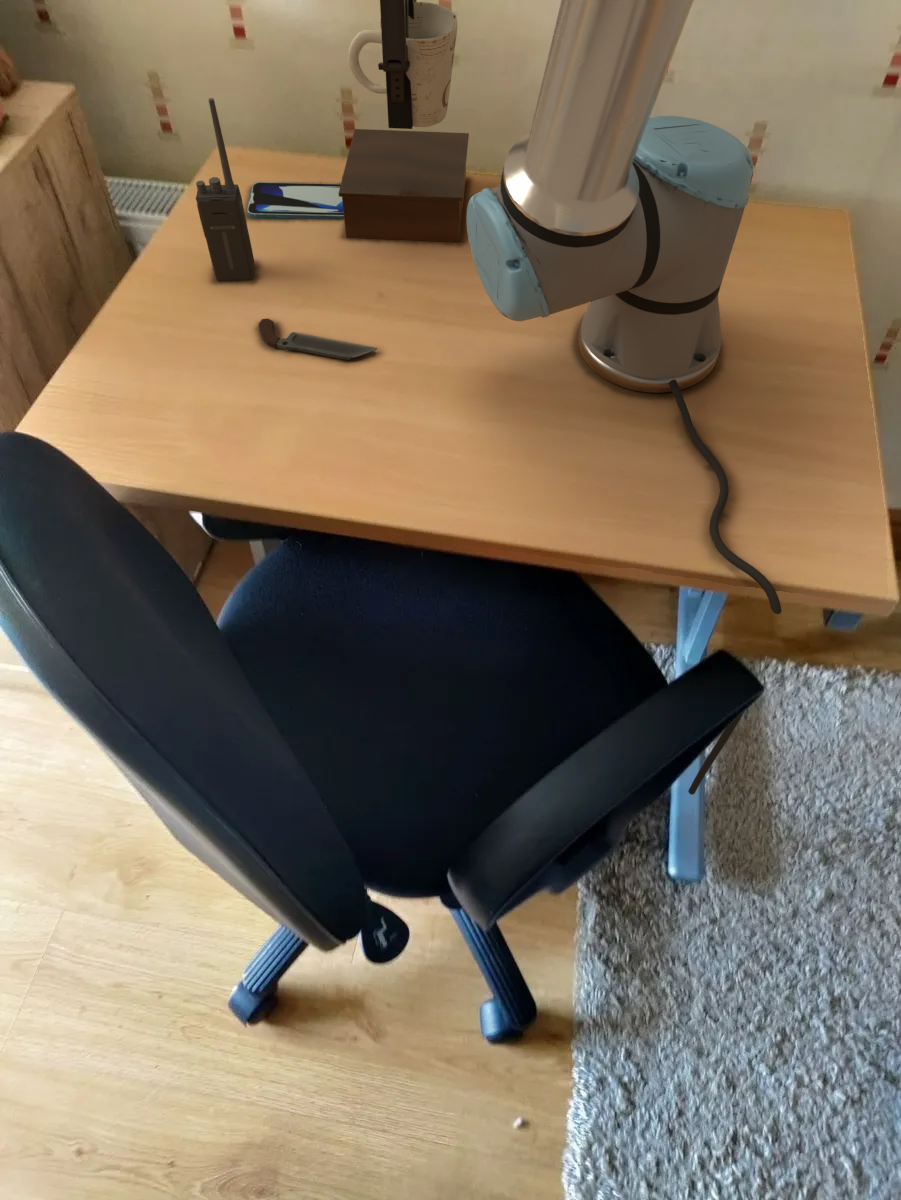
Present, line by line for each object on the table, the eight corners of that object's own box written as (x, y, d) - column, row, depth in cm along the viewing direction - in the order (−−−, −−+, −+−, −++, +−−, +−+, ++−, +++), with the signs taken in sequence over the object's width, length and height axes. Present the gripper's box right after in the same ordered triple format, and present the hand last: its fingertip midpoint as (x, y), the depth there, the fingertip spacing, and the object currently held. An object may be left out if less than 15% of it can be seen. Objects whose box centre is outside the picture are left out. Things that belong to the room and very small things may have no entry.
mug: (449, 137, 100) (449, 43, 92) (342, 125, 102) (332, 31, 93) (462, 98, 105) (463, 5, 96) (359, 87, 106) (352, -6, 98)
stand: (461, 243, 108) (461, 197, 103) (343, 238, 109) (338, 192, 104) (468, 178, 117) (468, 132, 112) (358, 174, 117) (354, 128, 112)
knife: (249, 343, 98) (248, 338, 97) (263, 321, 100) (262, 316, 99) (369, 367, 95) (368, 362, 95) (381, 343, 98) (380, 338, 97)
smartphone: (365, 216, 111) (245, 214, 111) (365, 223, 112) (246, 221, 112) (368, 183, 115) (252, 181, 115) (368, 190, 116) (254, 188, 116)
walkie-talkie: (256, 262, 106) (221, 89, 90) (254, 280, 104) (218, 105, 88) (216, 264, 106) (173, 90, 90) (214, 281, 104) (169, 107, 88)
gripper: (366, -171, 89) (380, 70, 108) (340, -101, 79) (361, 154, 98) (440, -169, 89) (441, 73, 108) (424, -98, 78) (428, 157, 97)
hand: (403, 111), depth 103 cm, fingers closed on mug, 6 cm apart
